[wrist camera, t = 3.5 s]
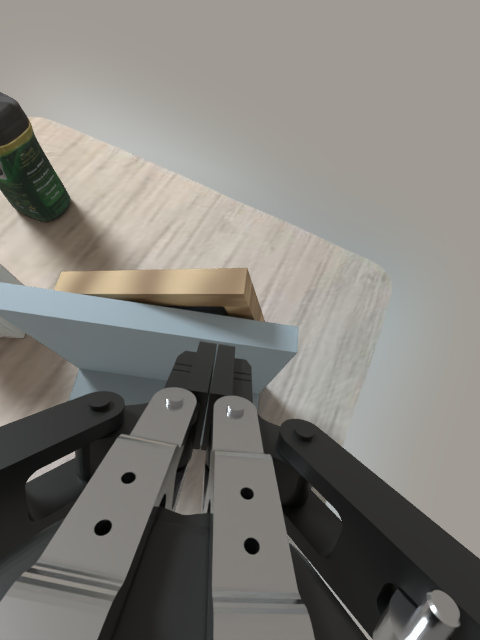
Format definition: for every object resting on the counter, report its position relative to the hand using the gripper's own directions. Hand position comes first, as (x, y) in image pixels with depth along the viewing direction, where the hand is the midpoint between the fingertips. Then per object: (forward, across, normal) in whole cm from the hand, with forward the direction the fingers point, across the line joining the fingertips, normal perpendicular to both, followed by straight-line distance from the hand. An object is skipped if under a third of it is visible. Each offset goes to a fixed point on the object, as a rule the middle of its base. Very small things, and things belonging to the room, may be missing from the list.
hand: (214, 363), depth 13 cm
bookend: (+26, +6, +23) cm, 35 cm away
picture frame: (+25, +3, +12) cm, 27 cm away
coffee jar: (+48, +36, 0) cm, 60 cm away
